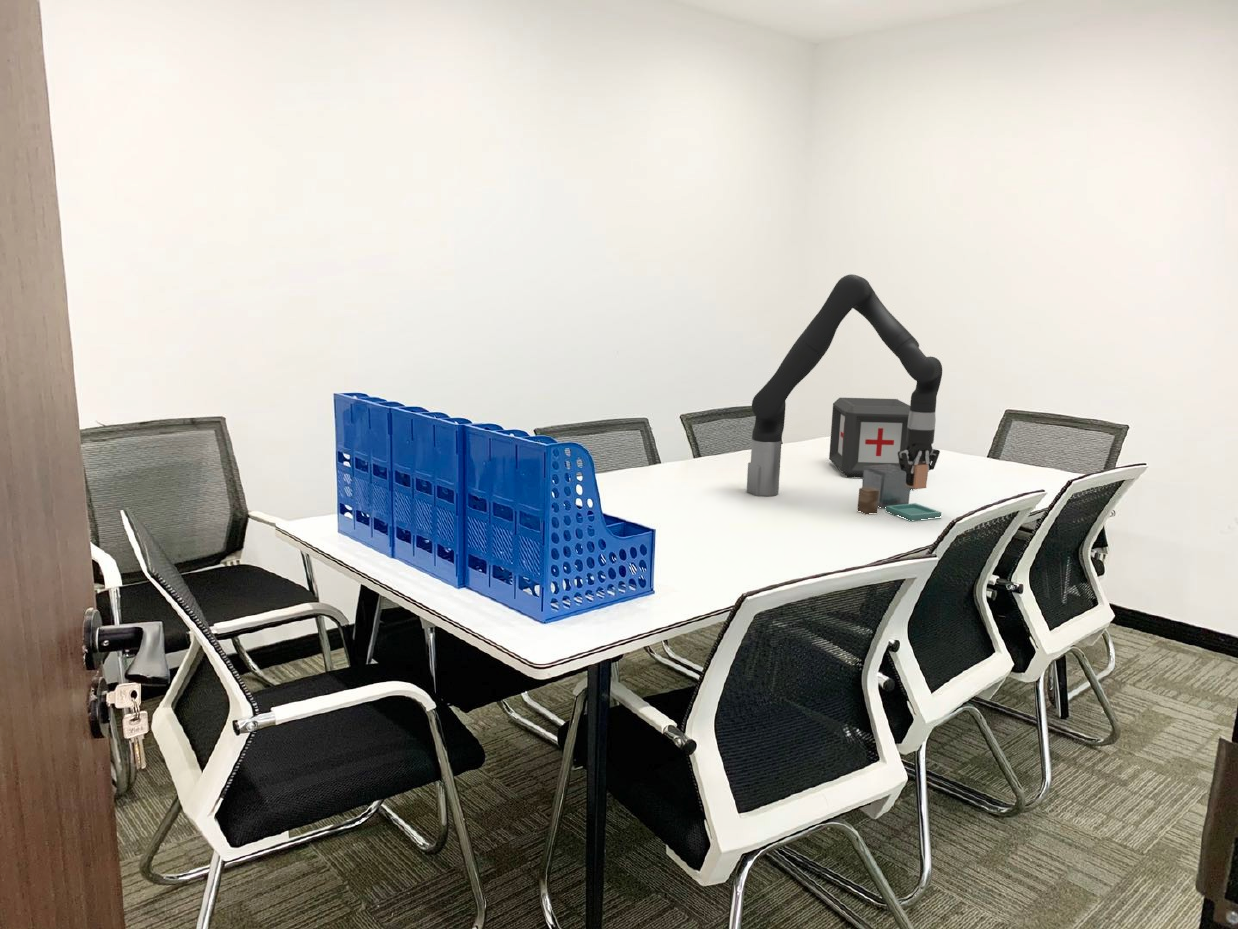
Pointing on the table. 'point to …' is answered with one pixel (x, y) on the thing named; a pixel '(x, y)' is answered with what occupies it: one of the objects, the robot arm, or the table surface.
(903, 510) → the teal tray
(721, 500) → the table surface
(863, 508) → the walnut block
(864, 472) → the grey unit
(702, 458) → the table surface
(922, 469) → the terracotta block
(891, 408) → the first aid kit
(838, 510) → the table surface
